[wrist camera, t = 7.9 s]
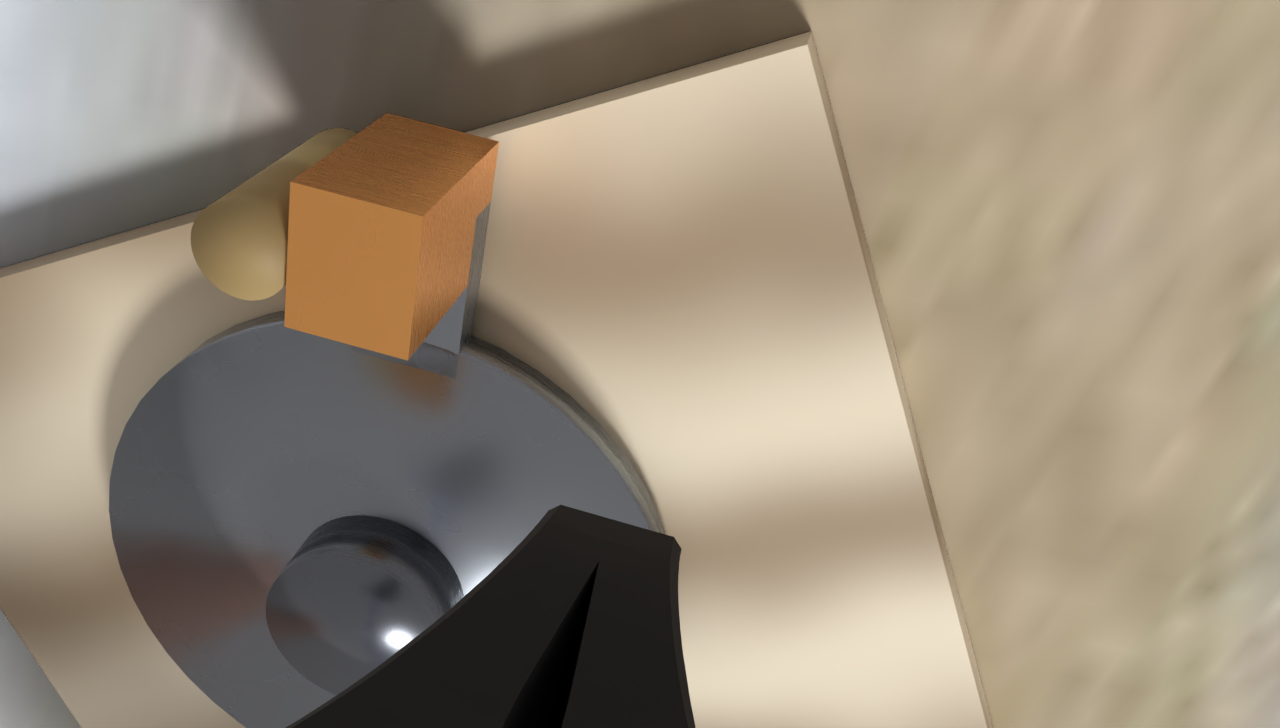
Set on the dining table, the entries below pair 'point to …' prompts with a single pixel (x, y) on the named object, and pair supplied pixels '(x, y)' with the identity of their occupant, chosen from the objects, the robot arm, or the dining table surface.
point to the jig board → (585, 369)
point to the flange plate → (349, 441)
